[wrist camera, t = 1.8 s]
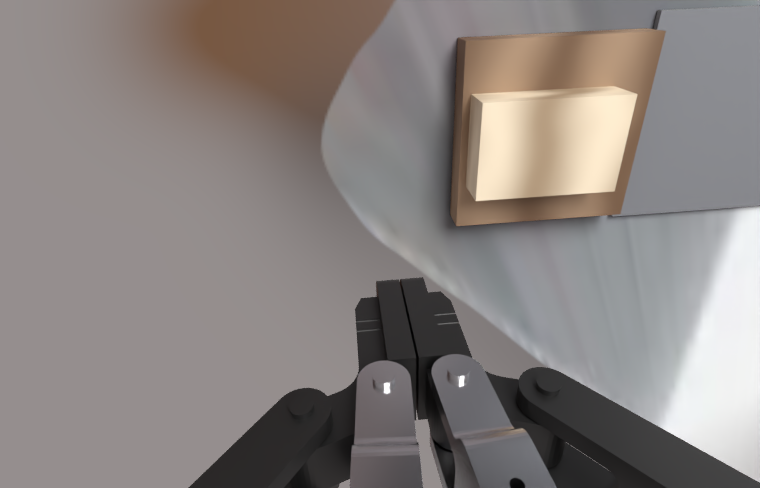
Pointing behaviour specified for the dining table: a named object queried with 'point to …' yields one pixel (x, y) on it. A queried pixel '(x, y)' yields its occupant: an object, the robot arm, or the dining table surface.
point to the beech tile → (547, 142)
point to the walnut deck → (548, 72)
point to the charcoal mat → (701, 115)
